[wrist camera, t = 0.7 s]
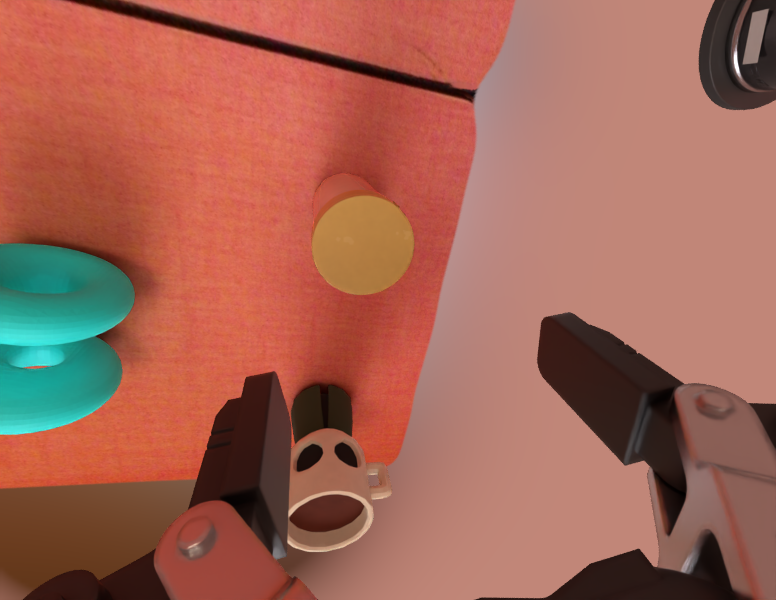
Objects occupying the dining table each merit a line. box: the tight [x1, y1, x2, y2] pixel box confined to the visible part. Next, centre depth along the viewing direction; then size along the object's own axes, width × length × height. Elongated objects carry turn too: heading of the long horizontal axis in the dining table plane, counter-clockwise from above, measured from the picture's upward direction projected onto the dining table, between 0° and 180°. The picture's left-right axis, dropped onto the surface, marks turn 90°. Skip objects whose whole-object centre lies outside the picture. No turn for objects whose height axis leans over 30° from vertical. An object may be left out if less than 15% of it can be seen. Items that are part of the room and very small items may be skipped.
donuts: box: [0, 243, 135, 435], centre depth 25 cm, size 10×10×10 cm
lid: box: [311, 190, 414, 295], centre depth 21 cm, size 6×6×2 cm
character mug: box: [287, 385, 392, 552], centre depth 33 cm, size 11×7×13 cm, turn 82°
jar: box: [313, 173, 378, 221], centre depth 26 cm, size 5×5×11 cm
